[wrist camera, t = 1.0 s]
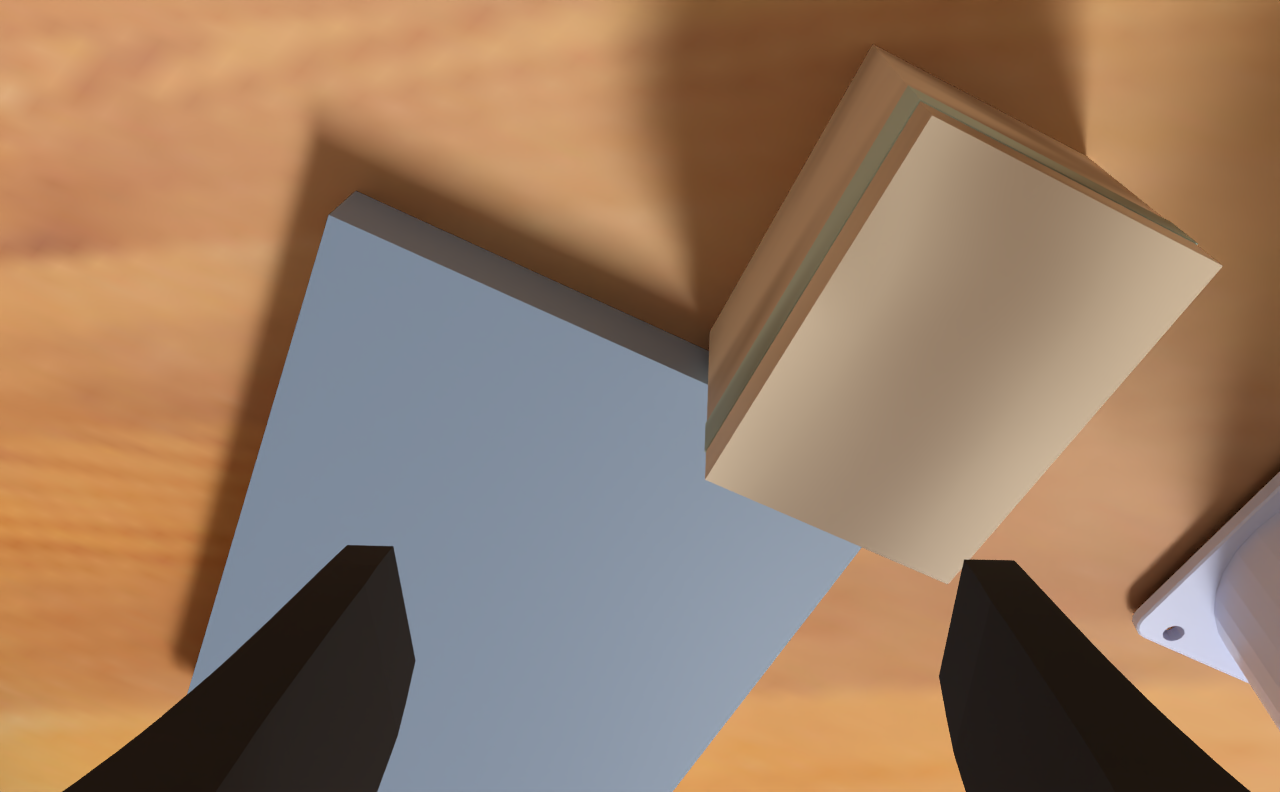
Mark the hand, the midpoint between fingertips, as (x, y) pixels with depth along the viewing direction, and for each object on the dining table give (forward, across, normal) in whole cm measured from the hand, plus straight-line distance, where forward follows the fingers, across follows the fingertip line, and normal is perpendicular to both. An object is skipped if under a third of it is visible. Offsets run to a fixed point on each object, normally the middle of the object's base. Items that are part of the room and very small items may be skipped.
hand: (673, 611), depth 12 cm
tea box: (+10, -4, -1) cm, 11 cm away
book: (+11, +5, +9) cm, 15 cm away
